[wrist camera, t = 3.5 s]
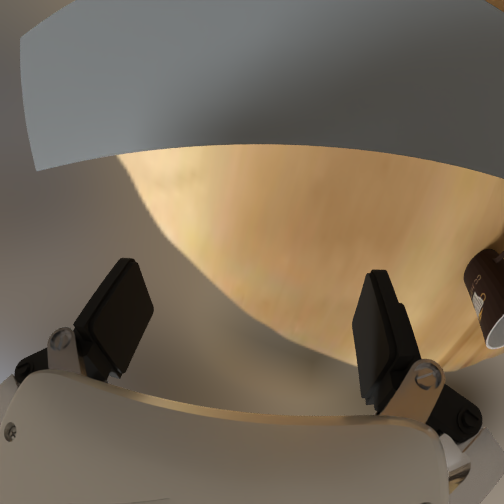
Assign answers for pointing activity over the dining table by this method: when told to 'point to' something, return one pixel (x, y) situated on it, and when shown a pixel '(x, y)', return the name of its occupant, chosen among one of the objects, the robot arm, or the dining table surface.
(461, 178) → the dining table surface
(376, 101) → the box
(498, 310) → the coffee mug
